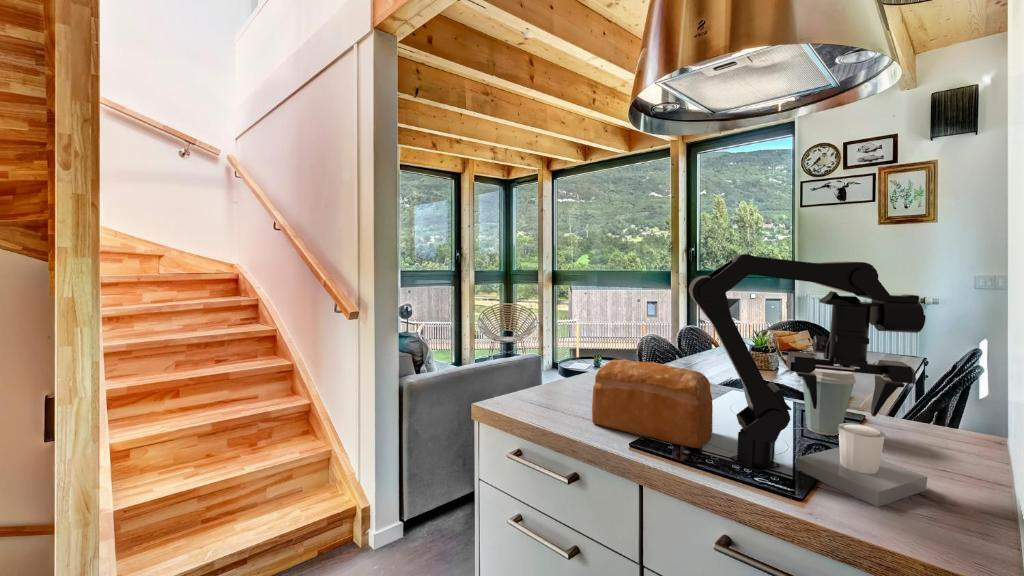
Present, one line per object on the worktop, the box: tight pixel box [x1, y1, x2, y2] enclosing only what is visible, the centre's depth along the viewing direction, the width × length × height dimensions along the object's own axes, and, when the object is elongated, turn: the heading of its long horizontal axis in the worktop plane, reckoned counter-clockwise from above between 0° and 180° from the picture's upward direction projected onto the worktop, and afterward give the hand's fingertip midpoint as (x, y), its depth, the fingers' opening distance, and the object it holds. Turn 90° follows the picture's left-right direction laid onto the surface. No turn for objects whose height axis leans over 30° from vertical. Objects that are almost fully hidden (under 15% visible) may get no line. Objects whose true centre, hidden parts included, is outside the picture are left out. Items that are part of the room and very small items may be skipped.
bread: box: [591, 359, 714, 449], centre depth 109 cm, size 14×26×16 cm, turn 54°
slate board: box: [796, 447, 928, 508], centre depth 85 cm, size 14×14×2 cm
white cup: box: [838, 422, 886, 474], centre depth 85 cm, size 7×7×7 cm
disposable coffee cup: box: [802, 369, 857, 437], centre depth 109 cm, size 11×11×15 cm
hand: (843, 411), depth 87 cm, fingers open, 9 cm apart
